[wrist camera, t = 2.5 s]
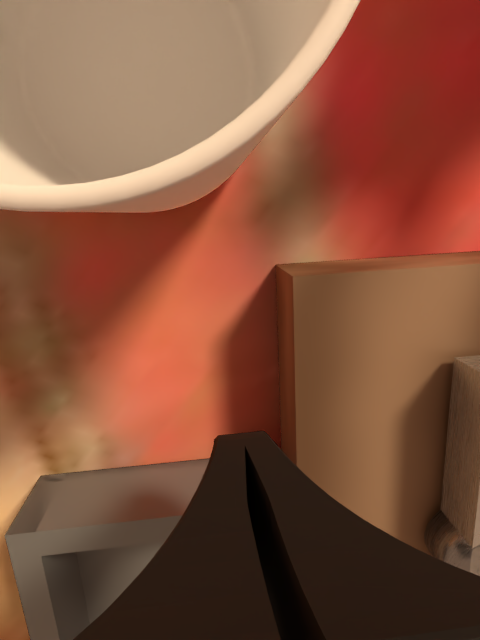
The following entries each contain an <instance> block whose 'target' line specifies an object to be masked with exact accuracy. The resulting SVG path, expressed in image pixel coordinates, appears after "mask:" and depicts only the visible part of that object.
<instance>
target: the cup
mask: <svg viewBox="0 0 480 640" xmlns="http://www.w3.org/2000/svg"><path fill="white" fill-rule="evenodd" d="M359 2H360V0H0V209H4V210H14V211H24V212H119V213H149V212H159V211H165V210H170V209H175V208H178V207H181V206H184V205H187V204H189V203H192V202H194V201H196V200H198V199H200V198H202V197H204V196H206V195H207V194H209V193H210V192H212V191H213V190H215V189H216V188H218V187H219V186H220V185H221V184H222V183H223V182H225V181H226V180H227V179H228V178H229V177H230V176H231V175H232V174H233V173H234V172H235V171H236V170H237V169H238V168H239V166H240V165H241V164H242V163H243V162H244V160H245V159H246V158H247V157H248V156H249V154H250V153H251V152H252V151H253V150H254V148H255V147H256V146H257V145H258V143H259V142H260V141H261V140H262V139H263V137H264V136H265V135H266V134H267V133H268V131H269V130H270V129H271V128H272V127H273V125H274V124H275V123H276V122H277V121H278V119H279V118H280V117H281V116H282V115H283V113H284V112H285V111H286V110H287V109H288V107H289V106H290V105H291V104H292V103H293V101H294V100H295V99H296V98H297V96H298V95H299V94H300V93H301V92H302V90H303V89H304V88H305V87H306V85H307V84H308V83H309V81H310V80H311V79H312V78H313V76H314V75H315V74H316V72H317V71H318V70H319V68H320V67H321V66H322V65H323V63H324V62H325V61H326V59H327V57H328V56H329V54H330V53H331V51H332V50H333V48H334V46H335V45H336V43H337V42H338V40H339V39H340V37H341V35H342V34H343V32H344V31H345V29H346V27H347V25H348V23H349V22H350V20H351V18H352V16H353V14H354V12H355V10H356V8H357V6H358V4H359Z"/></svg>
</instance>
